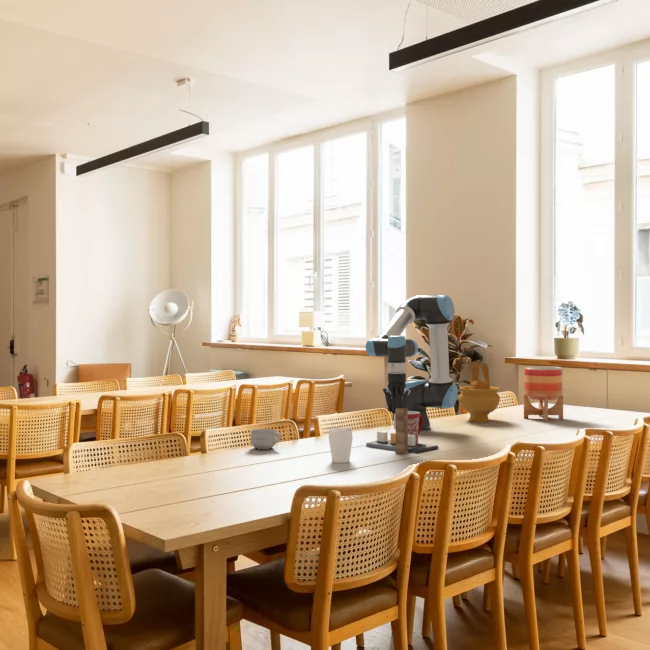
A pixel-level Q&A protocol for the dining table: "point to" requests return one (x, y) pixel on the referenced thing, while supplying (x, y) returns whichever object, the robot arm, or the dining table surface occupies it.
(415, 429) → the mug
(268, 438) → the teacup
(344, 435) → the cup
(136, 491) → the dining table surface
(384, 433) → the paddle
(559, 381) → the planter
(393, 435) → the block
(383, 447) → the switch plate
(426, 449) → the dark grey rod
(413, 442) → the cream rectangular box
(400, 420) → the post
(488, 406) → the cactus in yellow pot
